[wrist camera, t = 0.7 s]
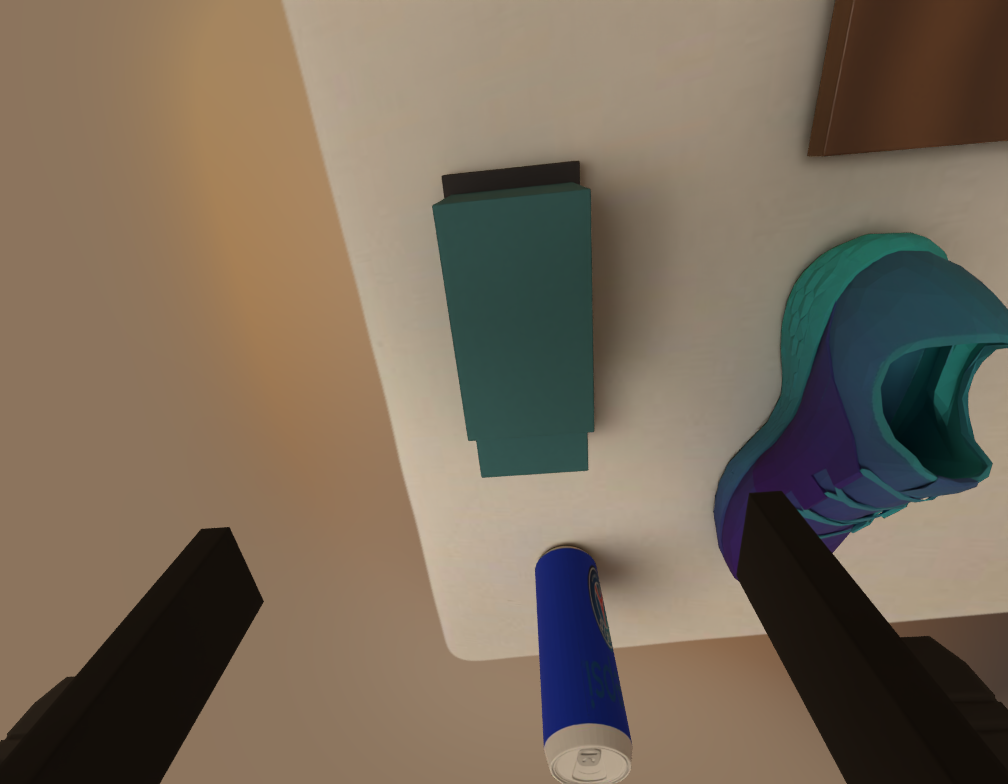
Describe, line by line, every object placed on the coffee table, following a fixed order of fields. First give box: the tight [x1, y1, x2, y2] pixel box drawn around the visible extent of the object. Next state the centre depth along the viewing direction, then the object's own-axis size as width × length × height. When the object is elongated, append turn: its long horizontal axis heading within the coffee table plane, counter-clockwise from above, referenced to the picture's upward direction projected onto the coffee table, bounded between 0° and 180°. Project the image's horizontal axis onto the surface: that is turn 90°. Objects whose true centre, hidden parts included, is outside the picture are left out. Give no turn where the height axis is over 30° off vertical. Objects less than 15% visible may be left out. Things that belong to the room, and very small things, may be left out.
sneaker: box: [713, 233, 1008, 581], centre depth 28 cm, size 10×26×12 cm, turn 176°
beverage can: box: [535, 546, 632, 784], centre depth 34 cm, size 5×5×15 cm
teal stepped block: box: [432, 161, 594, 478], centre depth 27 cm, size 18×8×8 cm, turn 6°
